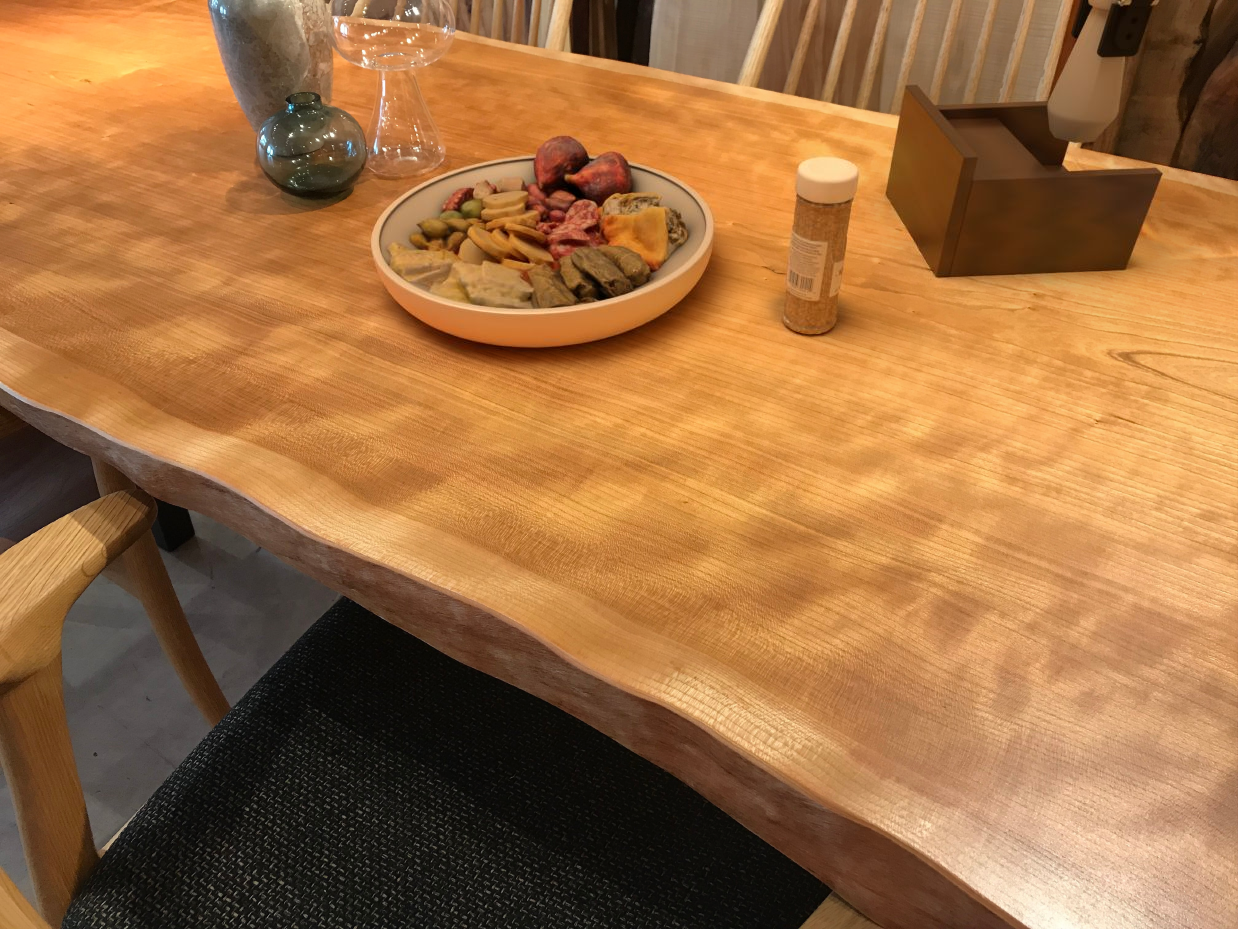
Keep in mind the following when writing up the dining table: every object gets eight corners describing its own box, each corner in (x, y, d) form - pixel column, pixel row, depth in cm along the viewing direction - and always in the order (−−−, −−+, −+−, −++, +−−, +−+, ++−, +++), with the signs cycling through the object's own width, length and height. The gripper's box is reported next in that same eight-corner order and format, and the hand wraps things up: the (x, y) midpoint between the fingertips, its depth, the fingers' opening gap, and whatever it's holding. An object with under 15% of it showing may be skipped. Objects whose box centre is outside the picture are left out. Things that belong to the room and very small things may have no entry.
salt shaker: (1113, 129, 83) (1168, -30, 74) (1103, 151, 79) (1159, -13, 71) (1046, 117, 85) (1092, -38, 77) (1033, 139, 81) (1079, -22, 73)
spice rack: (1049, 187, 95) (1082, 78, 87) (1125, 269, 82) (1172, 149, 75) (885, 193, 94) (905, 84, 87) (935, 277, 81) (964, 157, 74)
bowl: (714, 371, 71) (719, 282, 66) (339, 363, 73) (316, 276, 68) (709, 201, 94) (713, 125, 89) (423, 198, 96) (410, 124, 90)
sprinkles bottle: (846, 327, 76) (872, 171, 67) (800, 342, 74) (821, 184, 65) (814, 302, 79) (835, 149, 70) (769, 315, 77) (785, 161, 68)
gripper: (1310, -213, 59) (1197, 78, 71) (1179, -235, 72) (1102, 16, 84) (1196, -210, 59) (1102, 81, 71) (1084, -232, 71) (1021, 18, 83)
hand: (1103, 43), depth 77 cm, fingers closed on salt shaker, 4 cm apart
